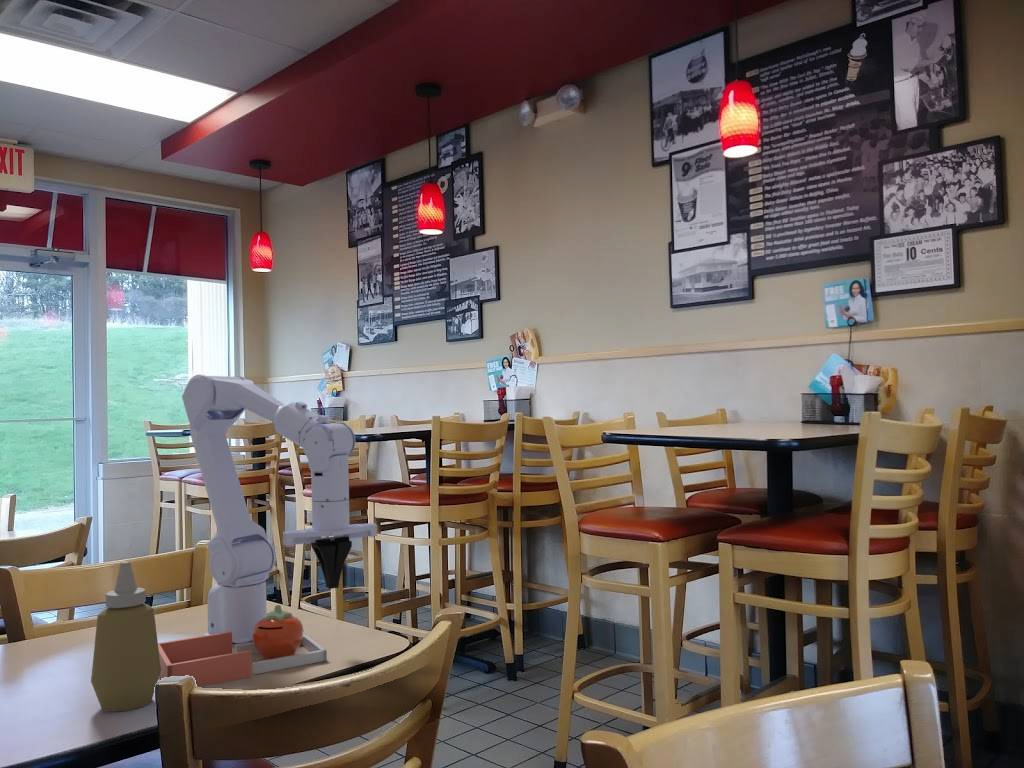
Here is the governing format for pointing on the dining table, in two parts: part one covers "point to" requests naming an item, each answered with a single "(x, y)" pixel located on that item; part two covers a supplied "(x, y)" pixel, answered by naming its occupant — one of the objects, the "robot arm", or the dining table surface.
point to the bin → (204, 659)
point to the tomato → (278, 634)
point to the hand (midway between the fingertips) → (332, 587)
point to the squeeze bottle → (125, 647)
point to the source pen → (289, 661)
